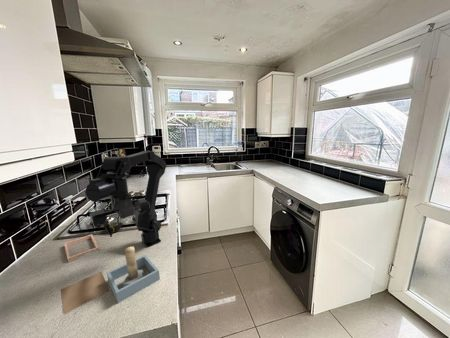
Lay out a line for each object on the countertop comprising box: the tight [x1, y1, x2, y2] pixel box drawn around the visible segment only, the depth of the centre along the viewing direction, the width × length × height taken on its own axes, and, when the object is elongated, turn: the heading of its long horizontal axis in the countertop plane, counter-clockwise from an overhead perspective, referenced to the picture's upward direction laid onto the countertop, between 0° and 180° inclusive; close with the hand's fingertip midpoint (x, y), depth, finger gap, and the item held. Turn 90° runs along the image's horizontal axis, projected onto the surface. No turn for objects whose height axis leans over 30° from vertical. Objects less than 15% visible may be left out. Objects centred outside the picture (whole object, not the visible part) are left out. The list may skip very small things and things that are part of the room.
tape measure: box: [105, 221, 124, 234], centre depth 99 cm, size 7×7×4 cm
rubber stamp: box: [122, 246, 145, 288], centre depth 62 cm, size 6×4×12 cm, turn 2°
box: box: [106, 254, 161, 304], centre depth 63 cm, size 13×12×4 cm
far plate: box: [60, 271, 110, 315], centre depth 60 cm, size 11×12×1 cm
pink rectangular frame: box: [63, 233, 100, 263], centre depth 85 cm, size 11×16×2 cm
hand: (124, 231), depth 72 cm, fingers open, 9 cm apart
